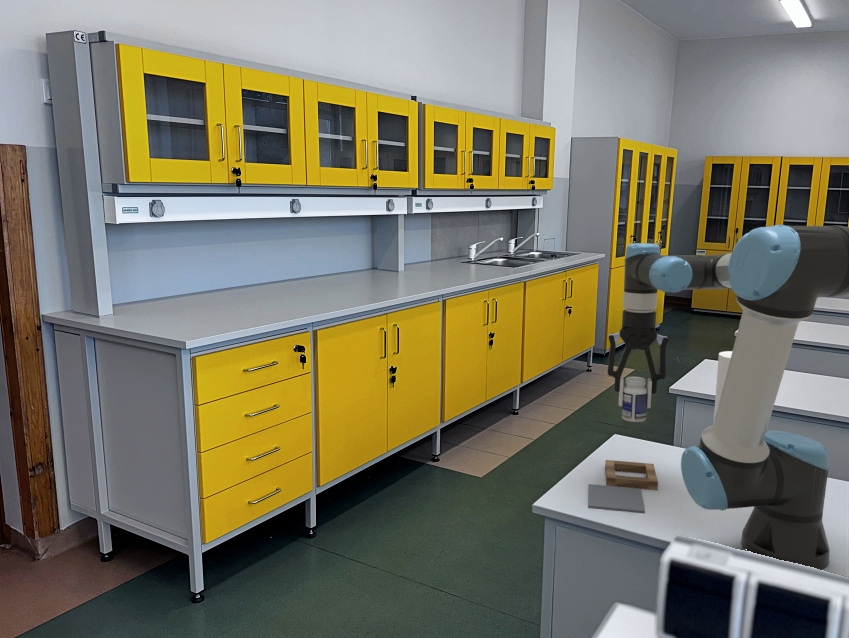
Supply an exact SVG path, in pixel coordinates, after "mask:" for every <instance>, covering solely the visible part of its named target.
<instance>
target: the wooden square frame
mask: <svg viewBox="0 0 849 638" xmlns="http://www.w3.org/2000/svg"><path fill="white" fill-rule="evenodd" d="M604 466H605V467H604V468H605V486H616V487H627V488H638V489H641V490H652V491H658V490H659V489H658V487H659V481H658V477H657V472H656V469H655V465H654V463H650V462H649V463H647V462H645V463H644V462H636V461H623V460H612V459H611V460H610V459H605V465H604ZM621 471H622V472H621ZM616 472H621V473H633V474H643V473H644V475H645V474H646V475H645V477H641V476H639V477H638V476H630V475H628V476H627V475H617V474H616Z"/></svg>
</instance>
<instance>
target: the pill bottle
mask: <svg viewBox="0 0 849 638" xmlns="http://www.w3.org/2000/svg"><path fill="white" fill-rule="evenodd" d="M624 382H625V384H626V385H625V386H623V401H622V406H621V418H622V420H625V421H626V422H633V423H640V422H644V421H645V420H647V409H648V408H647V388H646V387H645V386H647V385H646V384H647V379H646V378H644V377H642V376H641V377H640V376H627V377H625V381H624Z"/></svg>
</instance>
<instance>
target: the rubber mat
mask: <svg viewBox="0 0 849 638" xmlns="http://www.w3.org/2000/svg"><path fill="white" fill-rule="evenodd" d="M587 488H588V489H587V491H588V492H587V494H588V495H587V496H588V498H587V499H588V502H587V503H588V504H587V505H588V508H589V509H598V510H607V511H617V512H618V511H619V512H629V513H639V514H640V513H641V514H646V507H645V503H644V498H643V493H642V489H639V488H628V487H617V486H606V484H605V485H603V484H593V483H588V487H587Z"/></svg>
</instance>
